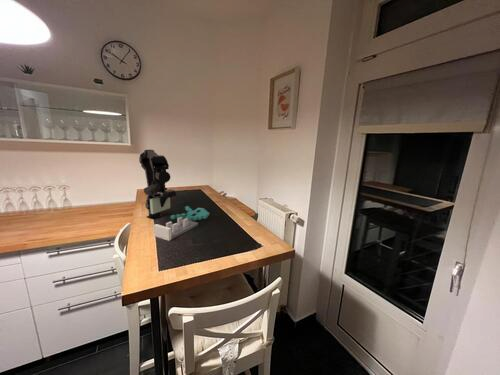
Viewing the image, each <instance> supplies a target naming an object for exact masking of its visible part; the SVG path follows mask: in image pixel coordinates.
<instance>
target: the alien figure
mask: <svg viewBox="0 0 500 375" xmlns="http://www.w3.org/2000/svg"><path fill="white" fill-rule="evenodd" d="M184 210H186V213H185V212H184V213H181V214H180V213H177V214H176V215H175V214H172V215H170V219H171V220H175V219H177V218H179V217H183V220H184V219H186V218H188V220H189V221H194V222H196V221H197V220H202V219H205V220H206V219H207V218H208V217H210V212H208V210H207V209H205V207H204V208H203V207H197V208H196V209H194V210H193V208H191V207H190V206H188V205H186V206H184Z"/></svg>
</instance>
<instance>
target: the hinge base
mask: <svg viewBox="0 0 500 375" xmlns="http://www.w3.org/2000/svg"><path fill="white" fill-rule="evenodd" d="M197 226H199V222H196V221H194V220H192V221H189V220H188V218H186V219H184V217H179V218H176V222H175V223H173V221H168V222H166V223H165V226H164V225H161V224H157V223H156V224H153V234H154V237H156V238H159V239H162V240H165V241H168V242H169V241H171V240H174V239H176V238H178V237H179V236H180V235H182V234H185V233H186V232H188V231H190V230H192V229H194V228H196V227H197Z"/></svg>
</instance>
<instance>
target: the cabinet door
mask: <svg viewBox="0 0 500 375" xmlns="http://www.w3.org/2000/svg"><path fill="white" fill-rule="evenodd" d="M169 209H171V197H170V198H167V200H166V202H165V204H164V206H163V207H161V203H160V198H159V197H156V198H152V199H150V210H151V214H155V213H158V212H160V213H161V212H163V211H165V210H166V211H167V210H169Z"/></svg>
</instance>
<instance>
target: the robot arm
mask: <svg viewBox="0 0 500 375" xmlns="http://www.w3.org/2000/svg"><path fill="white" fill-rule="evenodd" d="M138 158H139V159H138V161H139V164H140V167H141V168H142V169H143V170H144V172H145V177H146V178H145V179H146V185H147V186H146V187H145V188H143V193H144V194H145V195H146V200H145V208H146V209H147V211H148V215H147V216H146V218H148V219H151V220H155V219H159V218H161V217H163V215H162V214H161V211H160V212H158V213H155V214H151V210H150V199H152V198H156V197H159V198H160V203H161V207H163V206H164V204H165V202H166V200H167V198H170V199H171V198H172V197H176V196H177V191H176V190H173V189H168V188H167V187H166V183H168V182H169V181H170V180H171V175H170V173H169V172H168V171H167V170H169V167H170V165H169V163H168V160H167V158H166V157H165V155H160V154H158V153H156V152H155V150H154V149H144V151H143V152H142V153H140V154H139V157H138Z"/></svg>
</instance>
